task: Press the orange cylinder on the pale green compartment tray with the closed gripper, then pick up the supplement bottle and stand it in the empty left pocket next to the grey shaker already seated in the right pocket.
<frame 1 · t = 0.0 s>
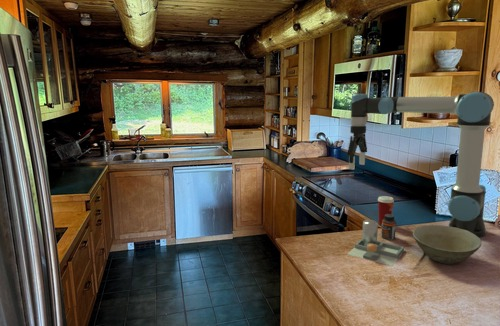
hand: (356, 166, 185), 28 cm above the worktop, fingers open, 13 cm apart
pale green compartment tray: (376, 253, 150), on the worktop
paper cup: (384, 225, 182), on the worktop
supplement bottle: (387, 239, 164), on the worktop
bowl: (443, 259, 144), on the worktop
grey shaker: (369, 246, 154), point 1 cm above the worktop, touching pale green compartment tray
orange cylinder: (371, 247, 144), point 5 cm above the worktop, slide at 0.0 cm
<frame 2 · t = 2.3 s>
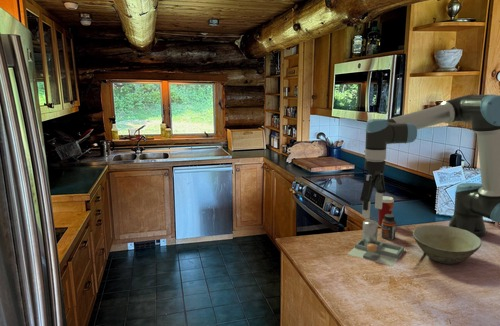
hand: (372, 213, 142), 19 cm above the worktop, fingers open, 13 cm apart
nothing on the worktop moved.
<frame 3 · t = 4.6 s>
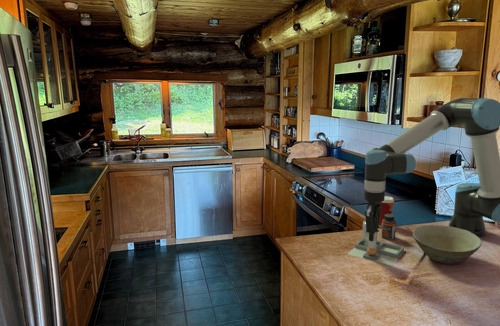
hand: (371, 247, 144), 5 cm above the worktop, fingers closed
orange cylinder: (371, 250, 144), point 4 cm above the worktop, slide at 1.2 cm, touching gripper
everything else where it was.
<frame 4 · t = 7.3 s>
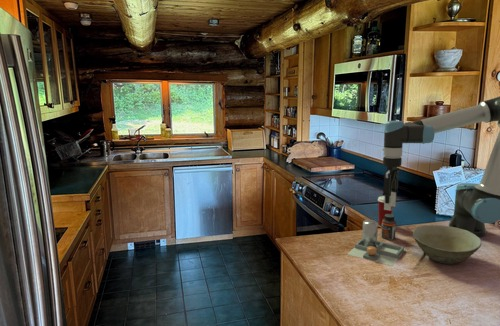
hand: (389, 207, 161), 15 cm above the worktop, fingers open, 6 cm apart
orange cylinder: (371, 250, 144), point 4 cm above the worktop, slide at 1.2 cm
everything else where it was.
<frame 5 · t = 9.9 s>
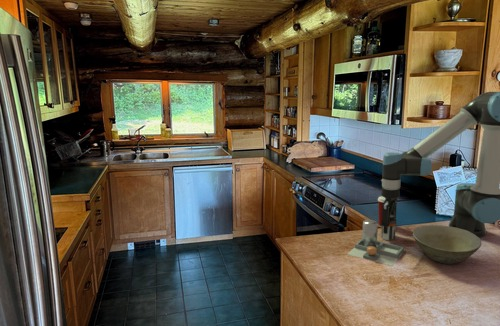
hand: (388, 237, 164), 1 cm above the worktop, fingers closed on supplement bottle, 6 cm apart
supplement bottle: (387, 239, 164), on the worktop, touching gripper
everything else where it was.
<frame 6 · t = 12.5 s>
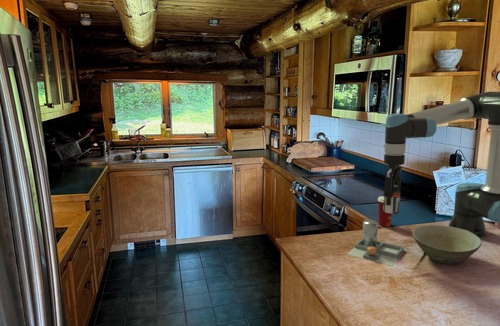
hand: (391, 210, 146), 19 cm above the worktop, fingers closed on supplement bottle, 6 cm apart
supplement bottle: (391, 212, 146), point 18 cm above the worktop, touching gripper
everything else where it was.
when the fingers open (4 cm above the worktop, at t = 15.5 s): supplement bottle drops 2 cm, resting on pale green compartment tray.
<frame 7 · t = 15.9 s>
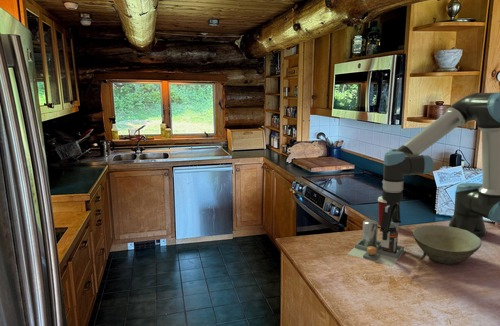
hand: (389, 242, 149), 5 cm above the worktop, fingers open, 11 cm apart
supplement bottle: (389, 251, 150), point 1 cm above the worktop, touching pale green compartment tray
everything else where it was.
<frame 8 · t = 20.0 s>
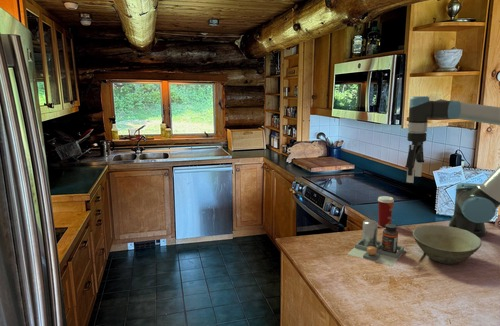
hand: (414, 179, 163), 27 cm above the worktop, fingers open, 13 cm apart
nothing on the worktop moved.
at the end: supplement bottle 0.1 cm from the target spot on the pale green compartment tray, point 0.8 cm above the pale green compartment tray's base; supplement bottle tilted 0°; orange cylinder slide at 1.2 cm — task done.
